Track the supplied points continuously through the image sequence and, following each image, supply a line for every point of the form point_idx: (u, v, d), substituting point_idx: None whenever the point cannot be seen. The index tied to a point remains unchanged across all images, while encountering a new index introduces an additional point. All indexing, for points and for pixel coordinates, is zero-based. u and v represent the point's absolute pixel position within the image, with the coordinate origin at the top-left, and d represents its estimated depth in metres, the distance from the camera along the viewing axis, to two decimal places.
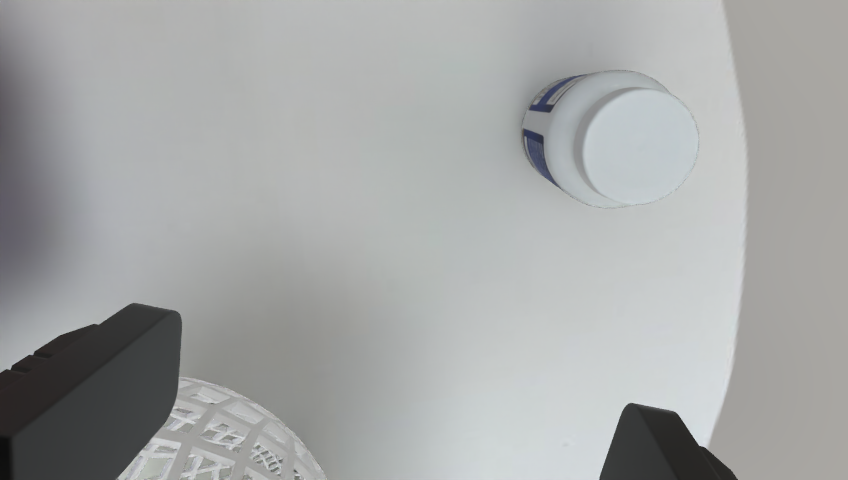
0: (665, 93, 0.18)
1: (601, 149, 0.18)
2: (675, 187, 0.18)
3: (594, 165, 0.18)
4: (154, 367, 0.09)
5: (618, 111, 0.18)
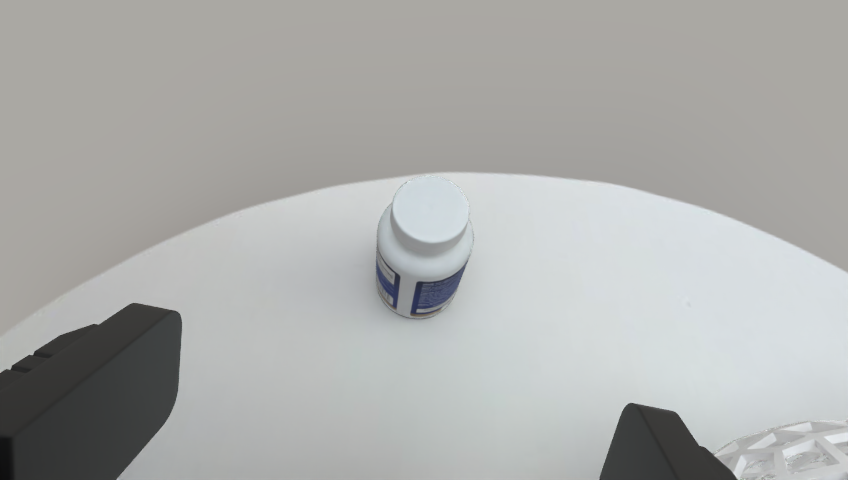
0: (397, 192, 0.27)
1: (429, 230, 0.26)
2: (459, 189, 0.27)
3: (440, 235, 0.26)
4: (154, 367, 0.09)
5: (405, 219, 0.26)
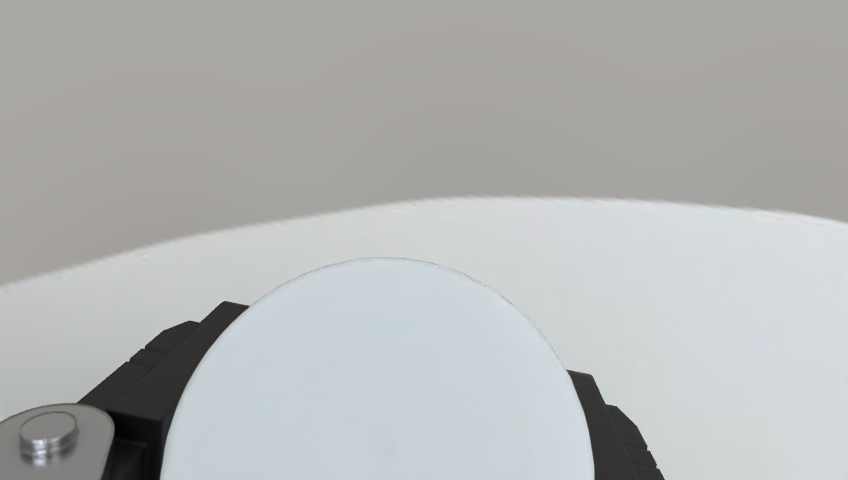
0: (203, 361, 0.05)
1: None
2: (528, 326, 0.06)
3: None
4: None
5: None
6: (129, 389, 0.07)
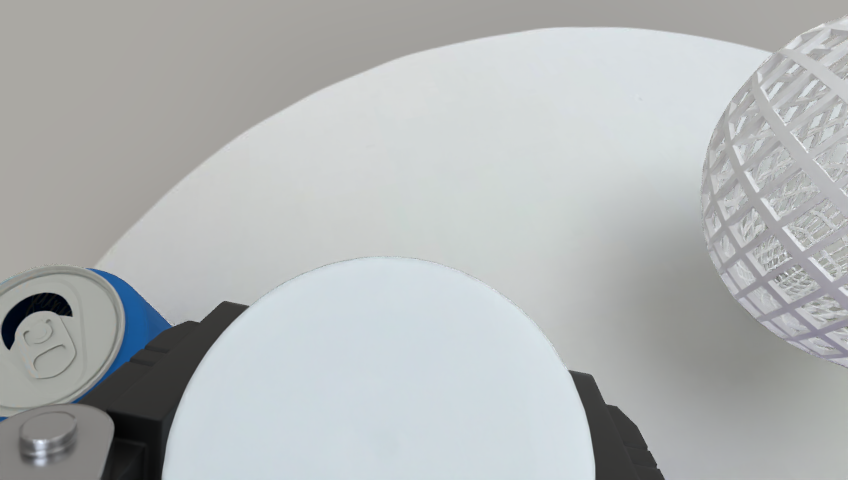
0: (204, 360, 0.05)
1: None
2: (528, 324, 0.06)
3: None
4: None
5: None
6: (129, 389, 0.07)
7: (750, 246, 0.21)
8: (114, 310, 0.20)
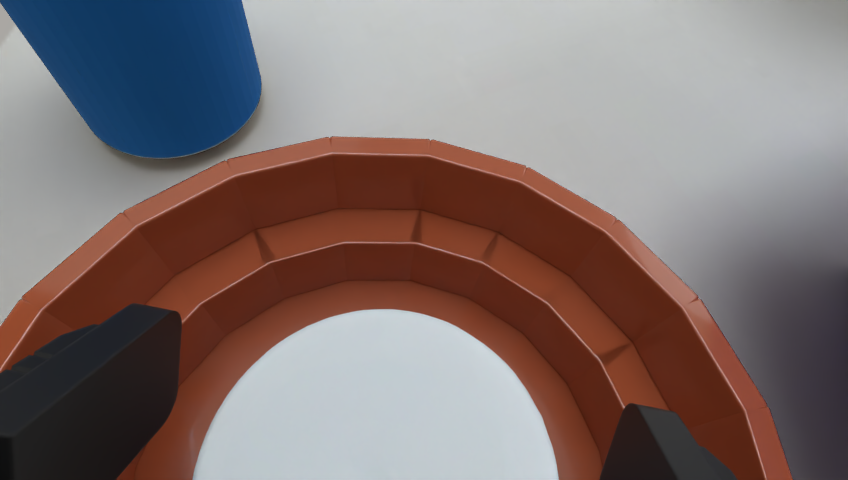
0: (223, 405, 0.06)
1: None
2: (505, 371, 0.06)
3: None
4: (154, 368, 0.09)
5: None
6: None
7: None
8: None
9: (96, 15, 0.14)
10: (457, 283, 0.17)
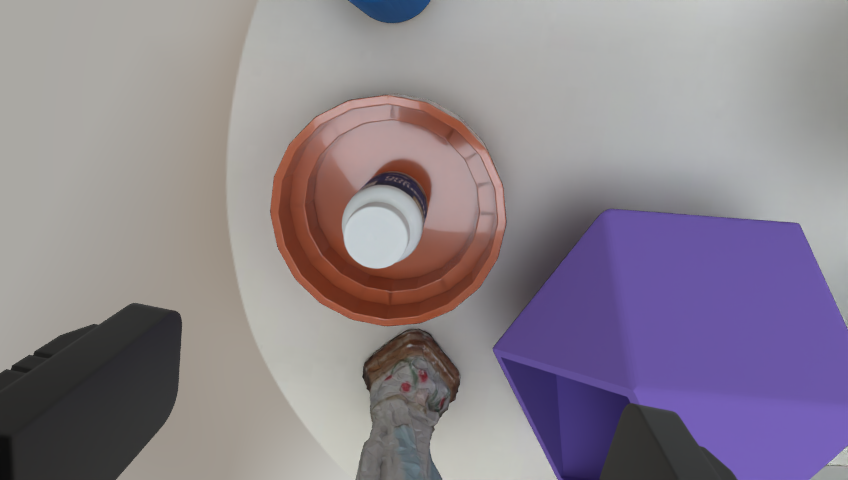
0: (356, 213, 0.32)
1: (363, 255, 0.33)
2: (405, 234, 0.32)
3: (369, 262, 0.33)
4: (154, 368, 0.09)
5: (350, 238, 0.32)
6: None
7: None
8: None
9: (363, 8, 0.32)
10: None
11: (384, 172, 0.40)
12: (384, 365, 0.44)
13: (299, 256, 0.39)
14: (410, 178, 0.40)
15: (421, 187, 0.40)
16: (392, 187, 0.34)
